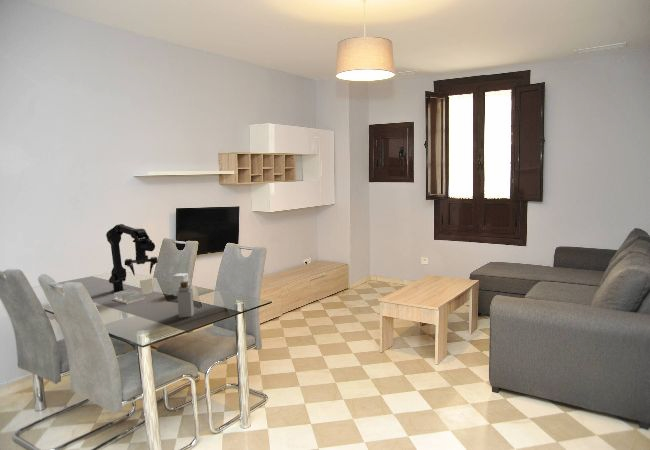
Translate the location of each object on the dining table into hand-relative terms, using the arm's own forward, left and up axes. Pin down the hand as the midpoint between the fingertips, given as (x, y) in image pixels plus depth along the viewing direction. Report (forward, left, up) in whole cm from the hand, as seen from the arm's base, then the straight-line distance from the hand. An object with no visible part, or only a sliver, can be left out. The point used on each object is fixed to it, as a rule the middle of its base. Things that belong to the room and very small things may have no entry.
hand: (142, 274), depth 302 cm
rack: (-2, -9, -14) cm, 16 cm away
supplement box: (+17, +15, -14) cm, 27 cm away
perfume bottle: (+53, -8, -14) cm, 55 cm away
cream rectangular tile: (-5, +5, -14) cm, 16 cm away
